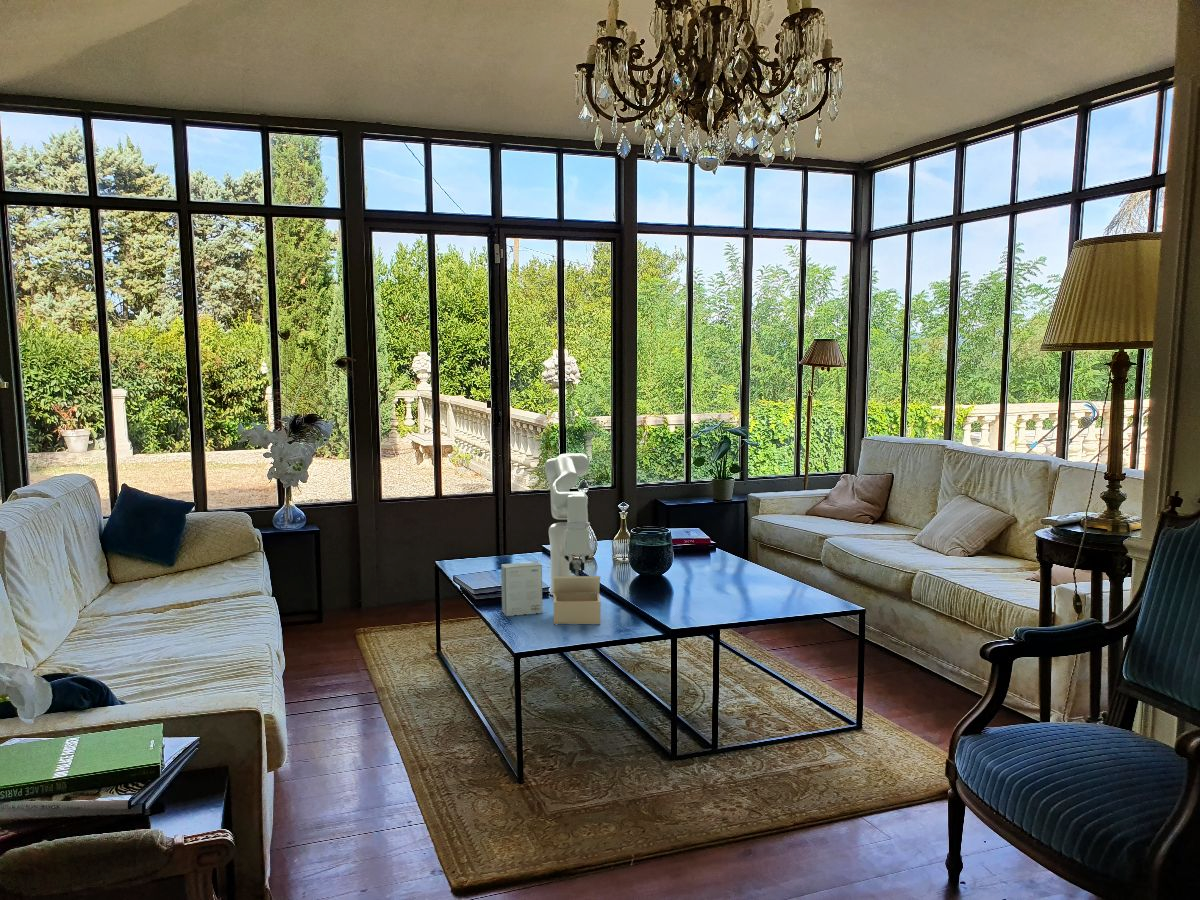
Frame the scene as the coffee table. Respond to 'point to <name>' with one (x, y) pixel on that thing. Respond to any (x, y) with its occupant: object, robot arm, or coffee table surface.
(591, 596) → the carton
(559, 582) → the carton flap
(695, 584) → the coffee table surface
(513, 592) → the hard drive box
